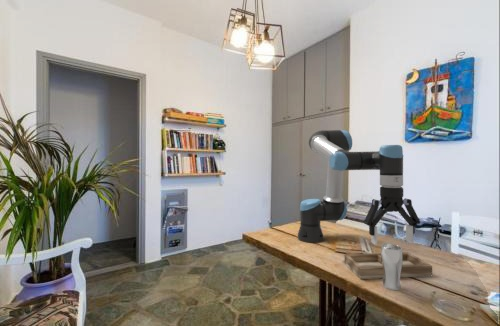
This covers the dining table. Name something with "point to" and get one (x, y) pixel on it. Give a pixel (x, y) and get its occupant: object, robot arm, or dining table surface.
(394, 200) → the robot arm
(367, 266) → the tray
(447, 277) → the dining table surface
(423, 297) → the dining table surface
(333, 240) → the dining table surface
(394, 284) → the metal cup
